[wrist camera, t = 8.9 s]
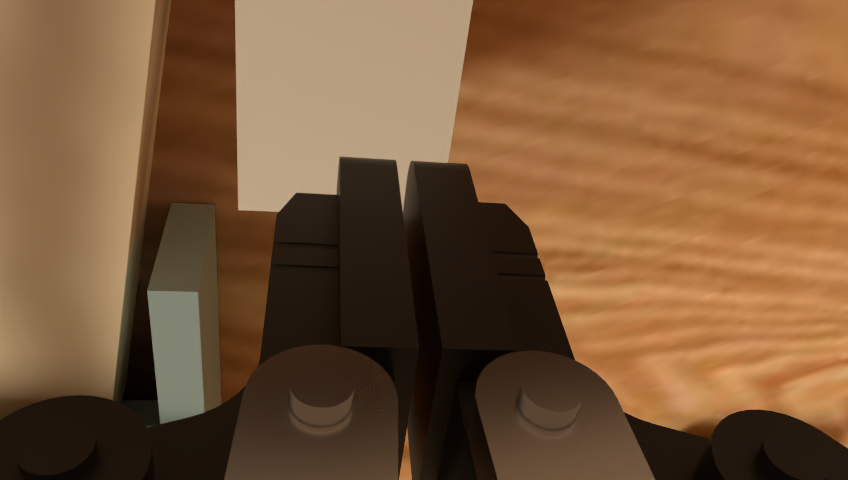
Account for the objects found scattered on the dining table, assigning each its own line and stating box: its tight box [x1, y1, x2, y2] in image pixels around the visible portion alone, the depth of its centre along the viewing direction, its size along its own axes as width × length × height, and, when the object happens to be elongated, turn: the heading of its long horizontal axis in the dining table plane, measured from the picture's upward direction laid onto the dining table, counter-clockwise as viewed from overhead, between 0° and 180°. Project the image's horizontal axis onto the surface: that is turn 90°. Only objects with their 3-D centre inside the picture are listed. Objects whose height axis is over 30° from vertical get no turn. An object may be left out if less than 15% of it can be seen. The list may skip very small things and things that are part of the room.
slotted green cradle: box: [121, 203, 222, 427], centre depth 28 cm, size 11×12×6 cm
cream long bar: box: [0, 0, 171, 420], centre depth 26 cm, size 5×18×4 cm, turn 163°
